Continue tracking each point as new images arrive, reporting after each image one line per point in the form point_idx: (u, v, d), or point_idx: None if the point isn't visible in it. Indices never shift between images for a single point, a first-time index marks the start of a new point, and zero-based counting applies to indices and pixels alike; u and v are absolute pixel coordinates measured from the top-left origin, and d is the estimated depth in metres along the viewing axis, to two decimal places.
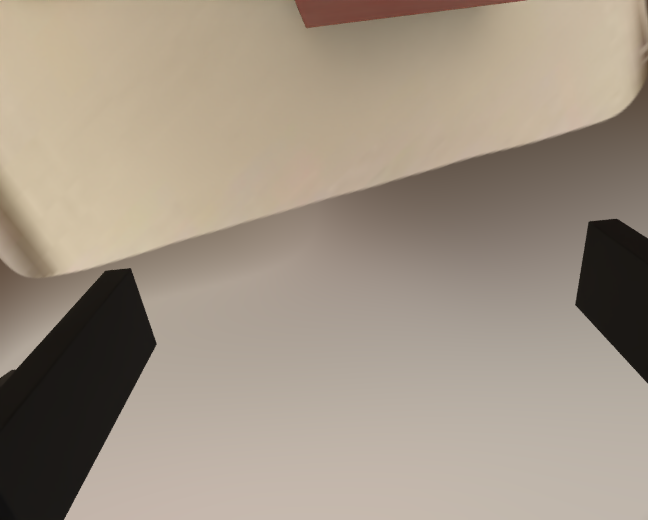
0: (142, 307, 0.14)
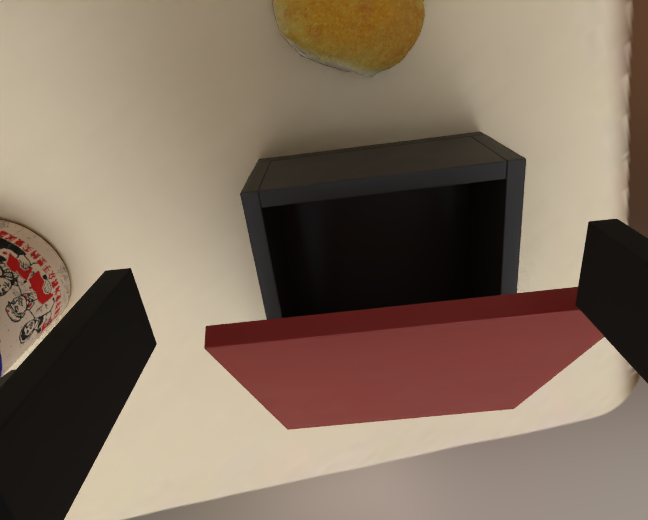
0: (142, 307, 0.14)
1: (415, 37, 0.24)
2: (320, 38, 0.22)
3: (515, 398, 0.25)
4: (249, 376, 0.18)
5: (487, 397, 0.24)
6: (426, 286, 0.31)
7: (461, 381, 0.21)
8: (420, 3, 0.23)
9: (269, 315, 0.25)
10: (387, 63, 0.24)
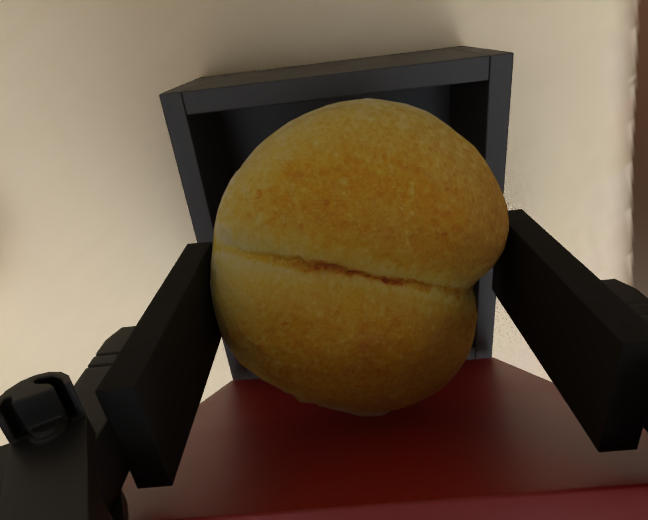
0: None
1: (464, 360, 0.13)
2: (288, 383, 0.12)
3: None
4: None
5: None
6: None
7: None
8: (470, 303, 0.13)
9: None
10: (415, 402, 0.13)
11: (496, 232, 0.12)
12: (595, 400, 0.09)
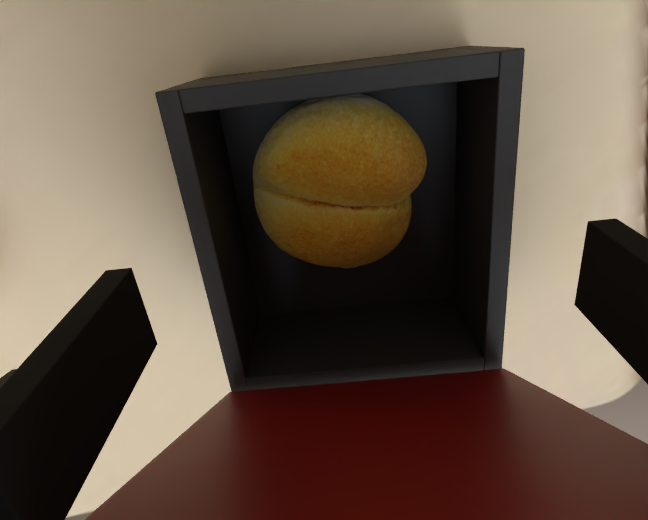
0: (143, 306, 0.14)
1: (402, 237, 0.23)
2: (306, 259, 0.23)
3: None
4: None
5: None
6: (405, 242, 0.26)
7: None
8: (405, 206, 0.23)
9: (202, 261, 0.20)
10: (376, 259, 0.24)
11: (414, 174, 0.21)
12: None
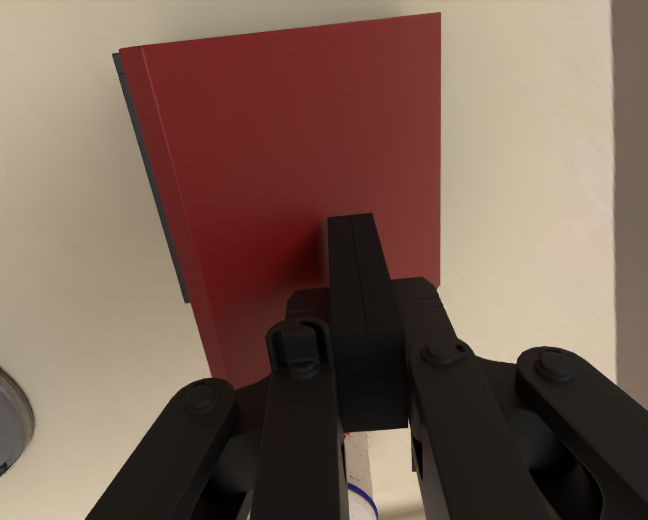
0: None
1: None
2: None
3: (412, 35, 0.18)
4: None
5: (404, 84, 0.18)
6: None
7: (357, 161, 0.16)
8: None
9: None
10: None
11: None
12: None
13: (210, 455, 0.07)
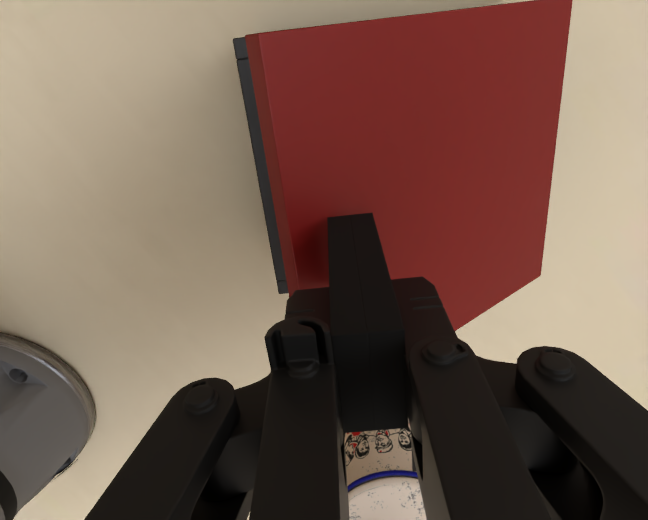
0: None
1: None
2: None
3: (531, 20, 0.18)
4: None
5: (514, 68, 0.19)
6: None
7: (448, 139, 0.18)
8: None
9: None
10: None
11: None
12: None
13: (210, 455, 0.07)
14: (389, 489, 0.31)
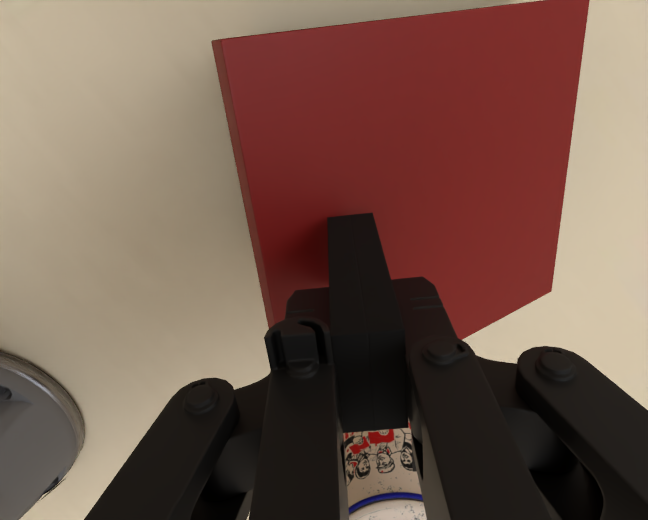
0: None
1: None
2: None
3: (539, 22, 0.17)
4: None
5: (519, 73, 0.18)
6: None
7: (441, 147, 0.17)
8: None
9: None
10: None
11: None
12: None
13: (210, 455, 0.07)
14: (391, 513, 0.30)
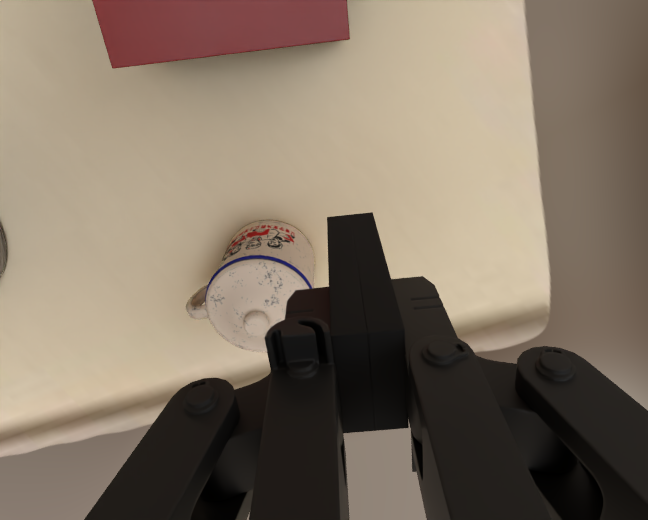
0: None
1: None
2: None
3: None
4: (162, 51, 0.29)
5: None
6: None
7: None
8: None
9: None
10: None
11: None
12: None
13: (210, 455, 0.07)
14: (247, 268, 0.35)
